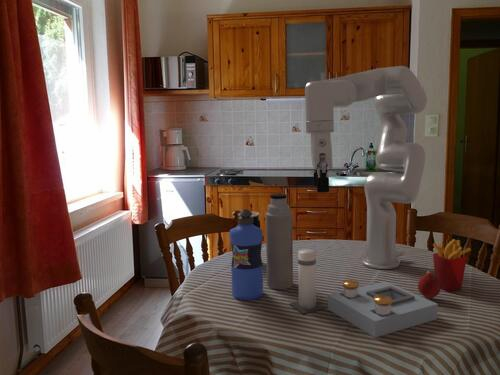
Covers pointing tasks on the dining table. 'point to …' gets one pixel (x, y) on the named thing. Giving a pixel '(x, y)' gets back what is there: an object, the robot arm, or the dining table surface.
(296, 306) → the pad
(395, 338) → the dining table surface
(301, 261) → the cartridge
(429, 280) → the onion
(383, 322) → the housing
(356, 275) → the dining table surface
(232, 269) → the water bottle
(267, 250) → the thermos bottle
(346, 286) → the plunger
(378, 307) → the plunger
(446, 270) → the french fries
